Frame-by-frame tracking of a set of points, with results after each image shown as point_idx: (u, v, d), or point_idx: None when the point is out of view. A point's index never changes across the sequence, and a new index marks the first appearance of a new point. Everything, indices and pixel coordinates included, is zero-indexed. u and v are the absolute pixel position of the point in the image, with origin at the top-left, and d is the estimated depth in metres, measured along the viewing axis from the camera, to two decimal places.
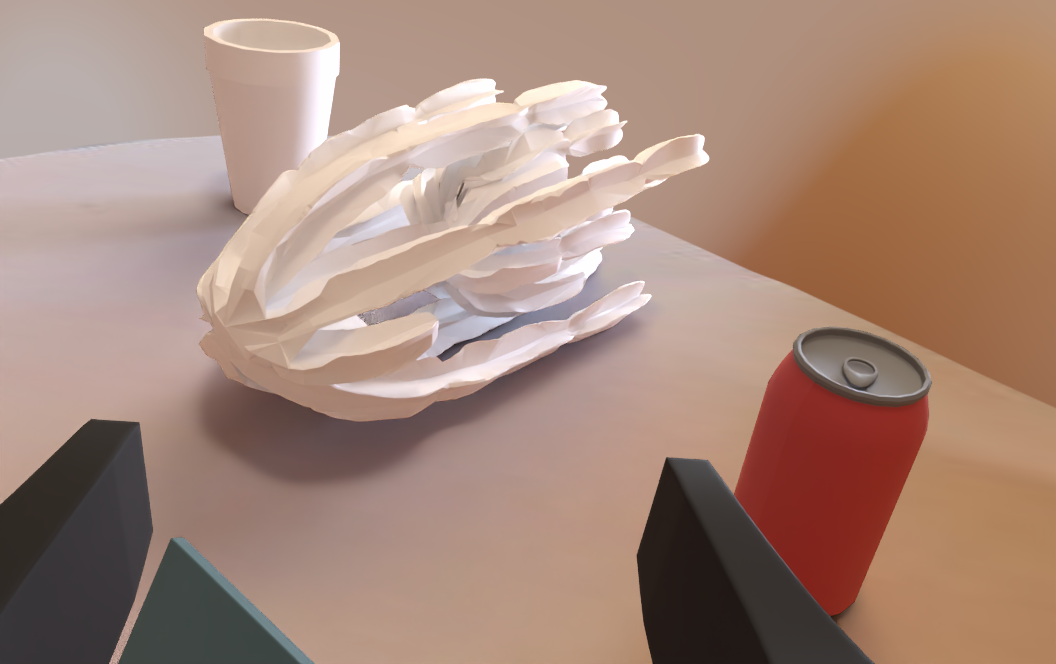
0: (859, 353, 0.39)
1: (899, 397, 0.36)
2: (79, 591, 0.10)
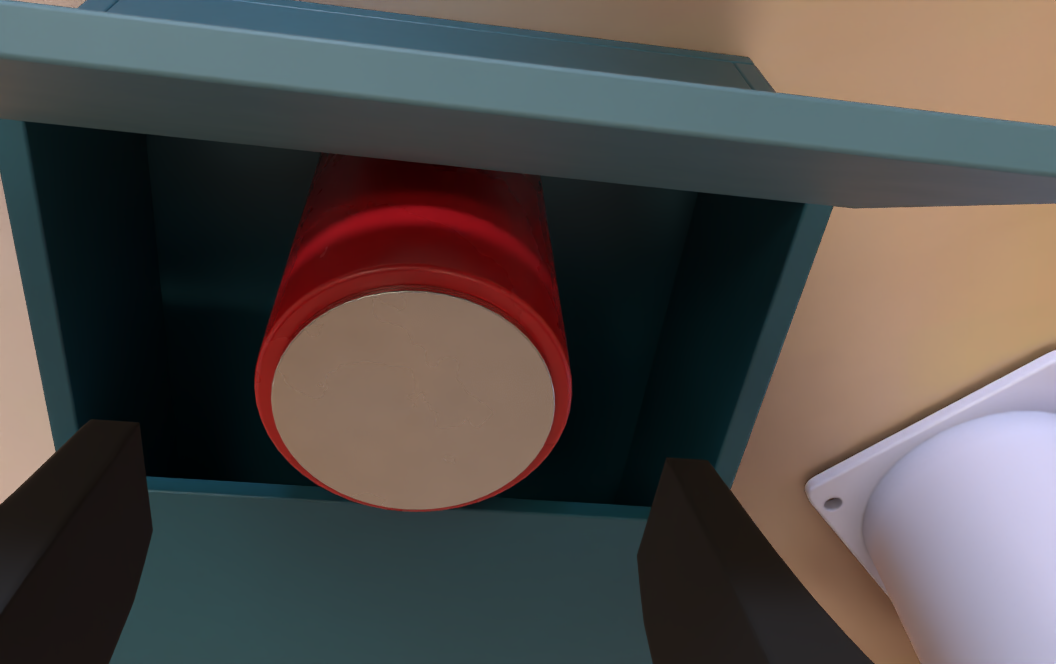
0: None
1: None
2: (79, 591, 0.10)
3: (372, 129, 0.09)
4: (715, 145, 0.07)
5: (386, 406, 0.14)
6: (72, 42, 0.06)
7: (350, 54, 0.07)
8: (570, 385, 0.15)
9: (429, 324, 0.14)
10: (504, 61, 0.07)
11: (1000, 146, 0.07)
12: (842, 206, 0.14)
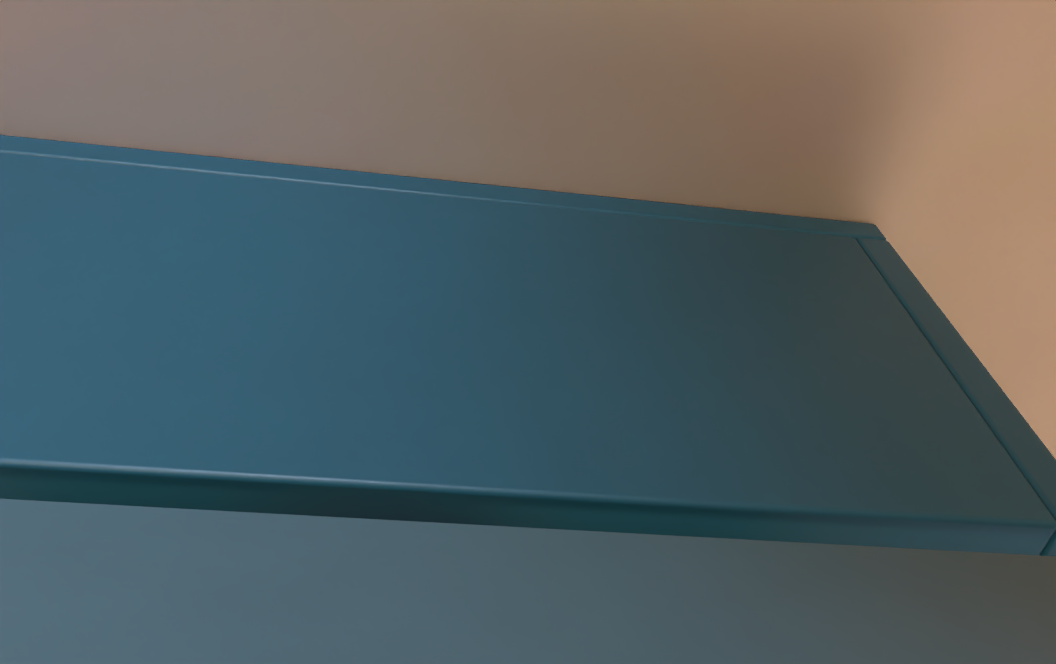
0: None
1: None
2: None
3: None
4: None
5: None
6: None
7: None
8: None
9: None
10: None
11: None
12: None
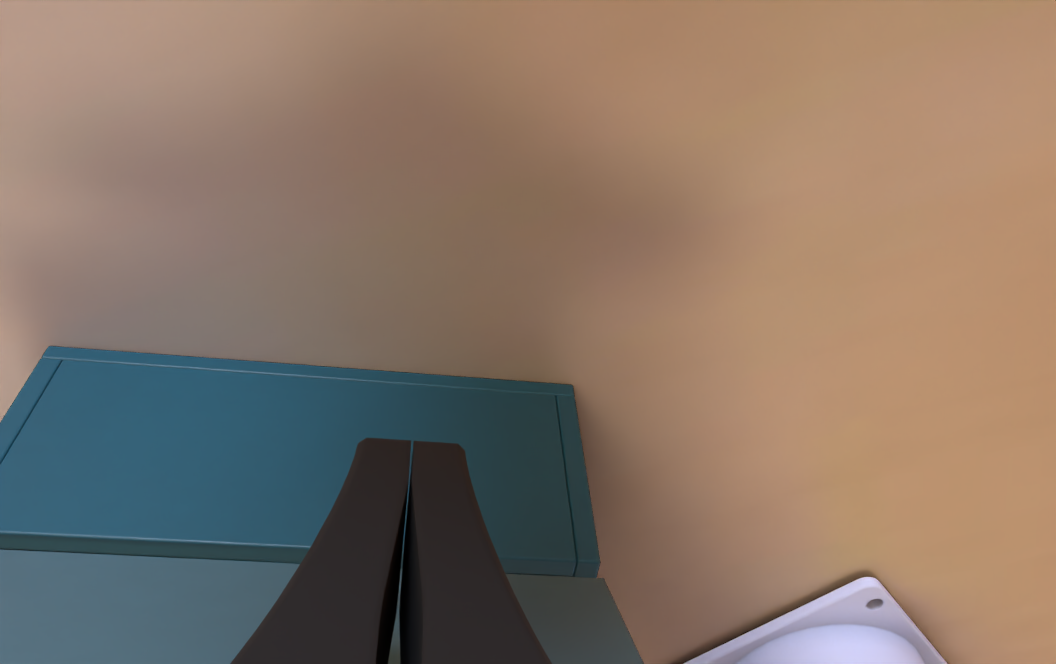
0: None
1: None
2: (389, 604, 0.11)
3: None
4: None
5: None
6: None
7: None
8: None
9: None
10: None
11: None
12: None
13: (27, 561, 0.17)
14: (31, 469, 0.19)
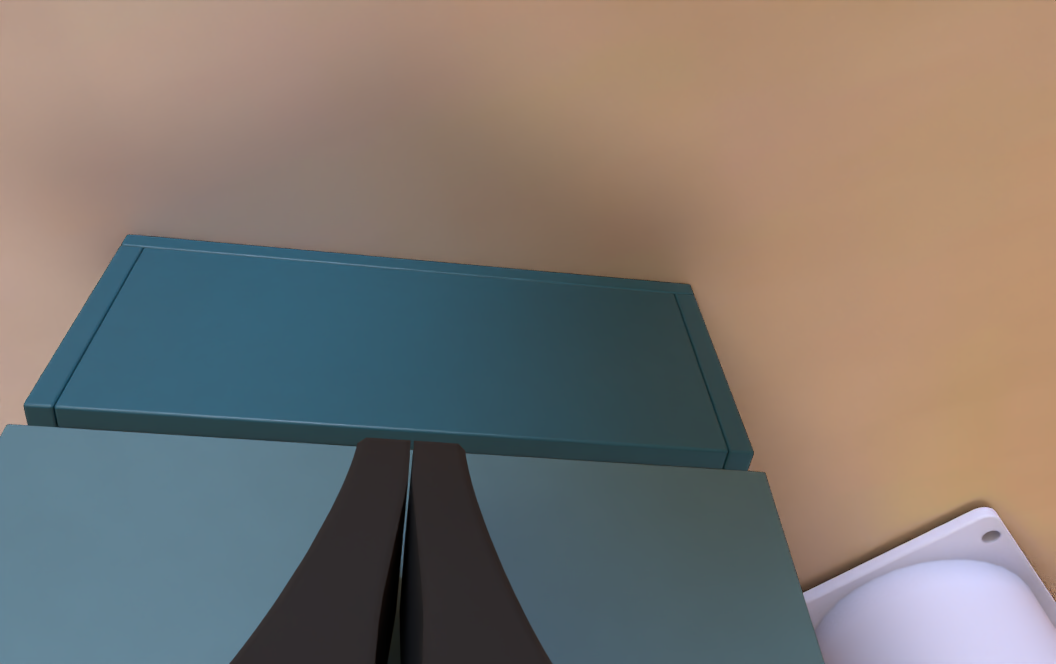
0: None
1: None
2: (388, 604, 0.11)
3: None
4: None
5: None
6: None
7: None
8: None
9: None
10: None
11: None
12: None
13: (133, 454, 0.15)
14: (124, 349, 0.17)
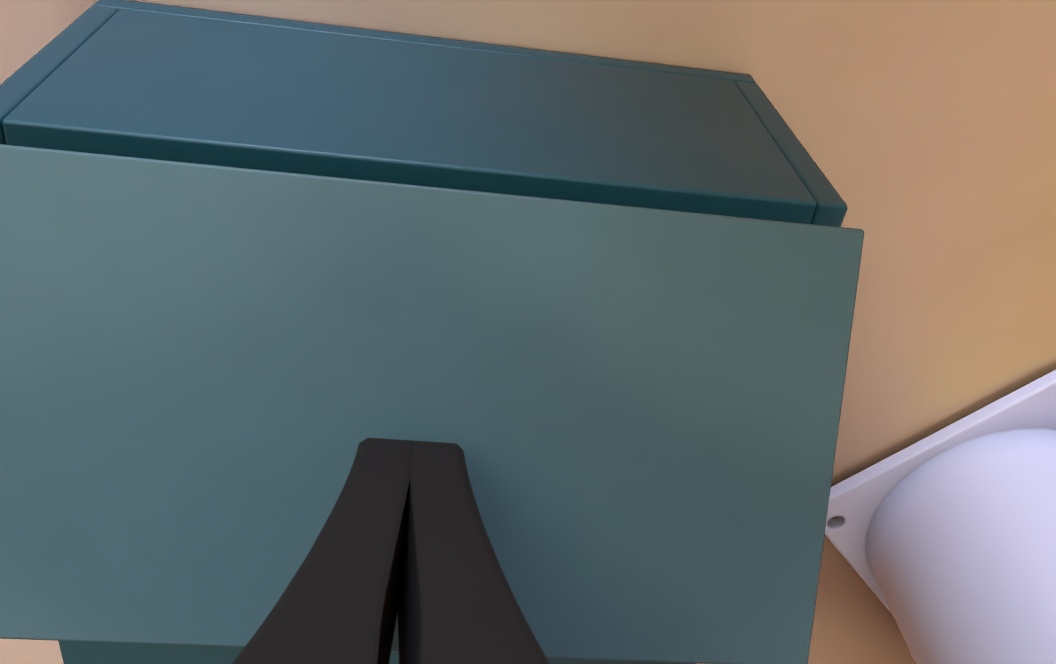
0: None
1: None
2: (391, 604, 0.11)
3: None
4: None
5: None
6: None
7: None
8: None
9: None
10: None
11: None
12: None
13: (106, 192, 0.12)
14: (91, 81, 0.14)
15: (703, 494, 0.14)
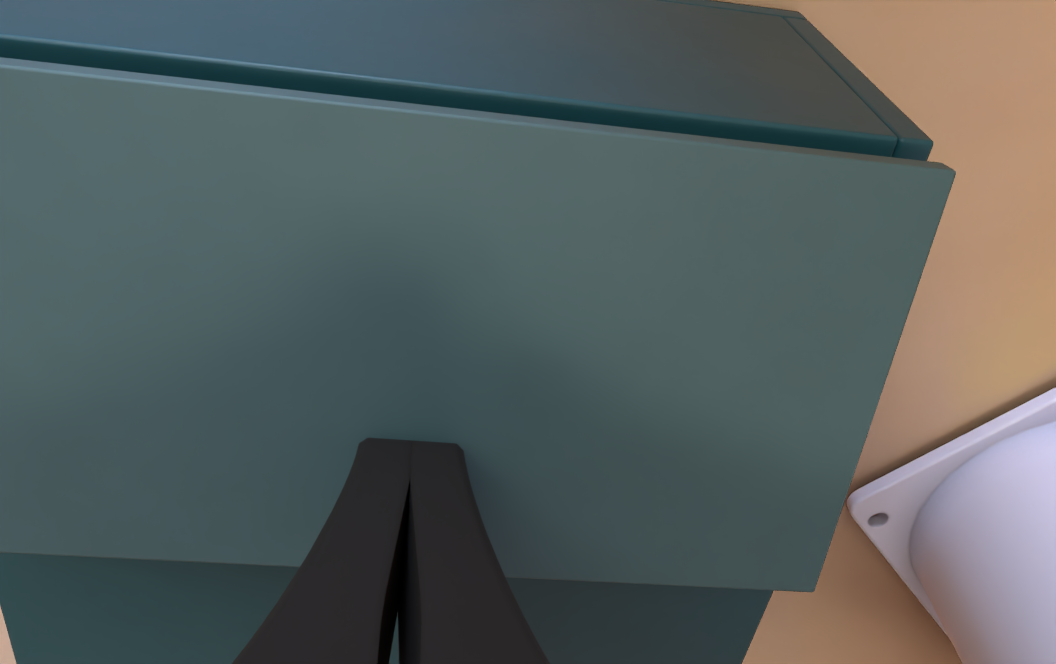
0: None
1: None
2: (391, 606, 0.11)
3: None
4: None
5: None
6: None
7: None
8: None
9: None
10: None
11: None
12: None
13: (54, 116, 0.10)
14: None
15: (729, 440, 0.13)
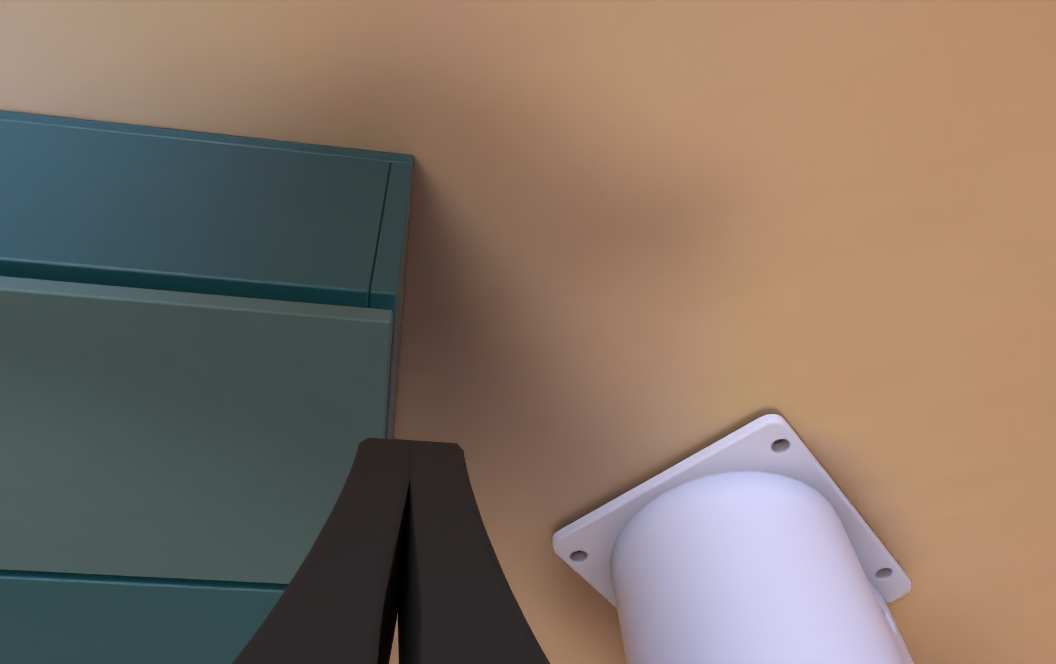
0: None
1: None
2: (390, 604, 0.11)
3: None
4: None
5: None
6: None
7: None
8: None
9: None
10: (69, 572, 0.19)
11: None
12: None
13: None
14: None
15: (274, 491, 0.18)
